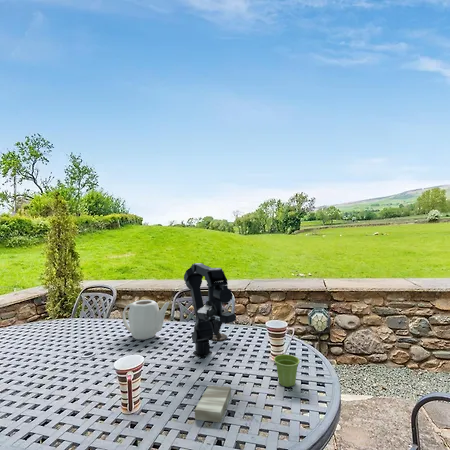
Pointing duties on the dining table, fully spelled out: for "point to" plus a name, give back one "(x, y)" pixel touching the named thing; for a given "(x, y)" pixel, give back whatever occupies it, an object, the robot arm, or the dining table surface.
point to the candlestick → (219, 336)
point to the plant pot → (286, 369)
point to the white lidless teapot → (144, 318)
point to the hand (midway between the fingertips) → (215, 335)
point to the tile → (213, 403)
